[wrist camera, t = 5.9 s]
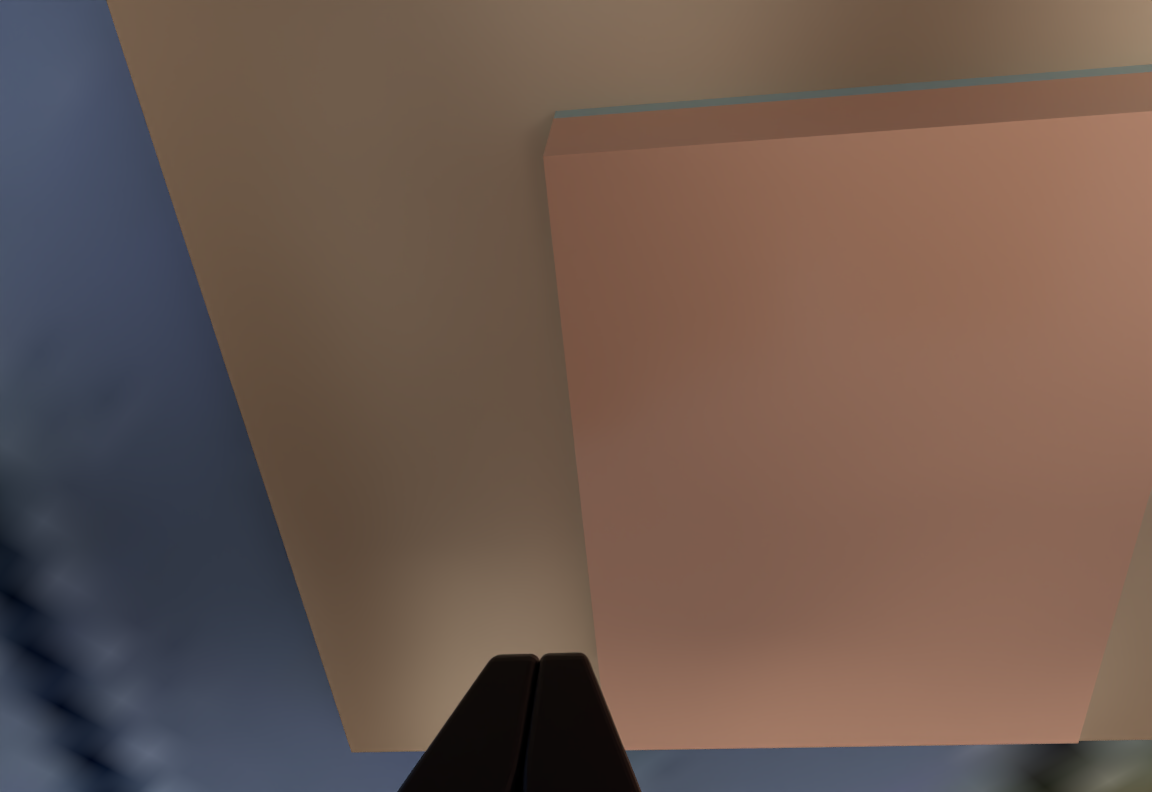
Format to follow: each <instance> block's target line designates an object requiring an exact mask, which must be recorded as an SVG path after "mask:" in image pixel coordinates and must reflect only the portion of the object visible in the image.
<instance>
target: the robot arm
mask: <svg viewBox="0 0 1152 792" xmlns="http://www.w3.org/2000/svg"><path fill="white" fill-rule="evenodd" d="M397 792H641V789H640V787H639V784H638V782H637V779H636V777H635V774H634V772H633V769H632V767H631V764H630V762H629V759H628V757H627V754H626V751H625V749H624V746H623V744H622V741H621V739H620V736H619V734H618V731H617V729H616V726H615V724H614V721H613V719H612V716H611V714H610V711H609V709H608V706H607V703H606V701H605V698H604V696H603V693H602V691H601V688H600V686H599V683H598V681H597V678H596V676H595V673H594V671H593V668H592V666H591V663H590V661H589V659H588V657H587V656H586V655H585V654H584V653H580V652H572V653H547V654H544V655H543V656H542V657H541V659H539V658H538V656H536V655H534V654H500V655H496V656H494V657H493V658H491V659H490V660H489V662H488V663H487V664H486V666H485V667H484V669H483V670H482V671H481V673H480V674H479V676H478V677H477V679H476V680H475V681H474V683H473V684H472V686H471V687H470V689H469V690H468V691H467V693H466V694H465V696H464V697H463V699H462V700H461V701H460V703H459V704H458V706H457V707H456V709H455V710H454V711H453V713H452V714H451V716H450V717H449V719H448V720H447V721H446V723H445V724H444V726H443V727H442V729H441V730H440V731H439V733H438V734H437V736H436V737H435V739H434V740H433V741H432V743H431V744H430V746H429V747H428V749H427V750H426V751H425V753H424V754H423V756H422V757H421V759H420V760H419V761H418V763H417V764H416V766H415V767H414V769H413V770H412V771H411V773H410V774H409V776H408V777H407V779H406V780H405V781H404V783H403V784H402V786H401V787H400V789H399V790H398V791H397Z"/></svg>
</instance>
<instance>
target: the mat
mask: <svg viewBox="0 0 1152 792" xmlns="http://www.w3.org/2000/svg"><path fill="white" fill-rule="evenodd" d="M106 1H107V4H108V7H109V10H110V13H111V16H112V19H113V22H114V25H115V28H116V32H117V35H118V38H119V41H120V44H121V47H122V50H123V53H124V56H125V59H126V62H127V65H128V68H129V71H130V74H131V78H132V81H133V84H134V87H135V90H136V93H137V96H138V99H139V102H140V105H141V108H142V111H143V114H144V117H145V120H146V124H147V127H148V130H149V133H150V136H151V139H152V142H153V145H154V148H155V151H156V154H157V157H158V160H159V163H160V166H161V169H162V173H163V176H164V179H165V182H166V185H167V188H168V191H169V194H170V197H171V200H172V203H173V206H174V209H175V212H176V215H177V219H178V222H179V225H180V228H181V231H182V234H183V237H184V240H185V243H186V246H187V249H188V252H189V255H190V258H191V261H192V265H193V268H194V271H195V274H196V277H197V280H198V283H199V286H200V289H201V292H202V295H203V298H204V301H205V304H206V307H207V311H208V314H209V317H210V320H211V323H212V326H213V329H214V332H215V335H216V338H217V341H218V344H219V347H220V350H221V353H222V356H223V360H224V363H225V366H226V369H227V372H228V375H229V378H230V381H231V384H232V387H233V390H234V393H235V396H236V399H237V402H238V406H239V409H240V412H241V415H242V418H243V421H244V424H245V427H246V430H247V433H248V436H249V439H250V442H251V445H252V448H253V452H254V455H255V458H256V461H257V464H258V467H259V470H260V473H261V476H262V479H263V482H264V485H265V488H266V491H267V494H268V498H269V501H270V504H271V507H272V510H273V513H274V516H275V519H276V522H277V525H278V528H279V531H280V534H281V537H282V540H283V543H284V547H285V550H286V553H287V556H288V559H289V562H290V565H291V568H292V571H293V574H294V577H295V580H296V583H297V586H298V589H299V593H300V596H301V599H302V602H303V605H304V608H305V611H306V614H307V617H308V620H309V623H310V626H311V629H312V632H313V635H314V639H315V642H316V645H317V648H318V651H319V654H320V657H321V660H322V663H323V666H324V669H325V672H326V675H327V678H328V681H329V685H330V688H331V691H332V694H333V697H334V700H335V703H336V706H337V709H338V712H339V715H340V718H341V721H342V724H343V727H344V730H345V734H346V737H347V740H348V743H349V746H350V749H351V752H404V751H426V750H427V749H428V747H429V746H430V744H431V743H432V741H433V740H434V739H435V737H436V736H437V734H438V733H439V731H440V730H441V729H442V727H443V726H444V724H445V723H446V721H447V720H448V719H449V717H450V716H451V714H452V713H453V711H454V710H455V709H456V707H457V706H458V704H459V703H460V701H461V700H462V699H463V697H464V696H465V694H466V693H467V691H468V690H469V689H470V687H471V686H472V684H473V683H474V681H475V680H476V679H477V677H478V676H479V674H480V673H481V671H482V670H483V669H484V667H485V666H486V664H487V663H488V662H489V660H490V659H491V658H493V657H494V656H496V655H500V654H534V655H536V656H538V658H539V659H541V657H542V656H543V655H544V654H547V653H572V652H580V653H584V654H585V655H586V656H587V657H588V659H589V661H590V663H591V666H592V668H593V671H594V673H595V676H596V678H597V681H598V683H599V686H600V688H601V684H600V675H599V666H598V657H597V648H596V639H595V629H594V620H593V611H592V602H591V593H590V584H589V574H588V565H587V556H586V547H585V538H584V528H583V519H582V510H581V501H580V492H579V483H578V473H577V464H576V455H575V446H574V437H573V427H572V418H571V409H570V400H569V391H568V382H567V372H566V363H565V354H564V345H563V336H562V327H561V317H560V308H559V299H558V290H557V281H556V271H555V262H554V253H553V244H552V235H551V226H550V216H549V207H548V198H547V189H546V180H545V171H544V161H543V154H544V151H545V147H546V144H547V140H548V136H549V133H550V129H551V126H552V122H553V119H554V115H555V111H563V110H576V109H588V108H601V107H614V106H626V105H639V104H652V103H664V102H677V101H690V100H703V99H715V98H728V97H741V96H753V95H766V94H779V93H791V92H804V91H817V90H830V89H842V88H855V87H868V86H880V85H893V84H906V83H918V82H931V81H944V80H957V79H969V78H982V77H995V76H1007V75H1020V74H1033V73H1045V72H1058V71H1071V70H1084V69H1096V68H1109V67H1122V66H1134V65H1147V64H1152V0H106ZM1094 740H1152V488H1151V492H1150V495H1149V499H1148V502H1147V506H1146V509H1145V513H1144V516H1143V520H1142V523H1141V527H1140V530H1139V534H1138V537H1137V541H1136V544H1135V548H1134V551H1133V554H1132V558H1131V561H1130V565H1129V568H1128V572H1127V575H1126V579H1125V582H1124V586H1123V589H1122V593H1121V596H1120V600H1119V603H1118V607H1117V610H1116V614H1115V617H1114V621H1113V624H1112V628H1111V631H1110V634H1109V638H1108V641H1107V645H1106V648H1105V652H1104V655H1103V659H1102V662H1101V666H1100V669H1099V673H1098V676H1097V680H1096V683H1095V687H1094V690H1093V694H1092V697H1091V701H1090V704H1089V708H1088V711H1087V714H1086V718H1085V721H1084V725H1083V728H1082V732H1081V735H1080V739H1079V741H1094Z"/></svg>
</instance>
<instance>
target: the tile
mask: <svg viewBox="0 0 1152 792" xmlns="http://www.w3.org/2000/svg"><path fill="white" fill-rule="evenodd" d="M543 161H544V171H545V180H546V189H547V198H548V207H549V216H550V226H551V235H552V244H553V253H554V262H555V271H556V281H557V290H558V299H559V308H560V317H561V327H562V336H563V345H564V354H565V363H566V372H567V382H568V391H569V400H570V409H571V418H572V427H573V437H574V446H575V455H576V464H577V473H578V483H579V492H580V501H581V510H582V519H583V528H584V538H585V547H586V556H587V565H588V574H589V584H590V593H591V602H592V611H593V620H594V629H595V639H596V648H597V657H598V666H599V675H600V684H601V691H602V693H603V696H604V698H605V701H606V703H607V706H608V709H609V711H610V714H611V716H612V719H613V721H614V724H615V726H616V729H617V731H618V734H619V736H620V739H621V741H622V744H623V746H624V749H625V750H672V749H736V748H799V747H863V746H926V745H990V744H1053V743H1078V742H1079V739H1080V735H1081V732H1082V728H1083V725H1084V721H1085V718H1086V714H1087V711H1088V708H1089V704H1090V701H1091V697H1092V694H1093V690H1094V687H1095V683H1096V680H1097V676H1098V673H1099V669H1100V666H1101V662H1102V659H1103V655H1104V652H1105V648H1106V645H1107V641H1108V638H1109V634H1110V631H1111V628H1112V624H1113V621H1114V617H1115V614H1116V610H1117V607H1118V603H1119V600H1120V596H1121V593H1122V589H1123V586H1124V582H1125V579H1126V575H1127V572H1128V568H1129V565H1130V561H1131V558H1132V554H1133V551H1134V548H1135V544H1136V541H1137V537H1138V534H1139V530H1140V527H1141V523H1142V520H1143V516H1144V513H1145V509H1146V506H1147V502H1148V499H1149V495H1150V492H1151V488H1152V64H1147V65H1134V66H1122V67H1109V68H1096V69H1084V70H1071V71H1058V72H1045V73H1033V74H1020V75H1007V76H995V77H982V78H969V79H957V80H944V81H931V82H918V83H906V84H893V85H880V86H868V87H855V88H842V89H830V90H817V91H804V92H791V93H779V94H766V95H753V96H741V97H728V98H715V99H703V100H690V101H677V102H664V103H652V104H639V105H626V106H614V107H601V108H588V109H576V110H563V111H555V115H554V119H553V122H552V126H551V129H550V133H549V136H548V140H547V144H546V147H545V151H544V154H543Z"/></svg>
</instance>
